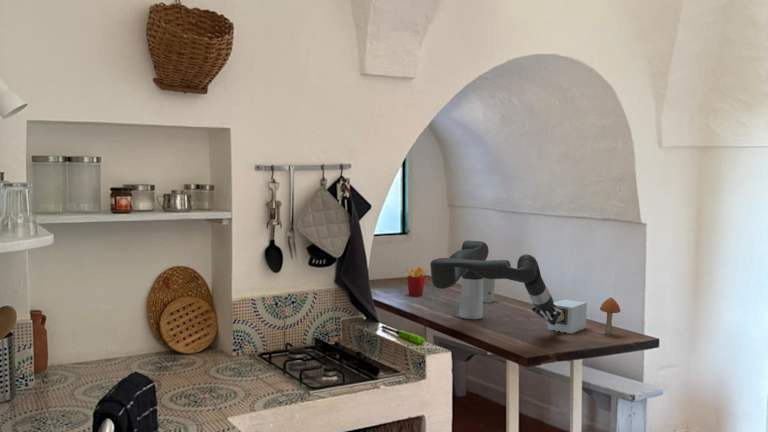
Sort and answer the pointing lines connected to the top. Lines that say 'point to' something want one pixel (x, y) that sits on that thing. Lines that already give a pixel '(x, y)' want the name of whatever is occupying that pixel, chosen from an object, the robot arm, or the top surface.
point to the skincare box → (488, 290)
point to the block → (570, 316)
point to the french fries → (416, 282)
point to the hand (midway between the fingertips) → (553, 323)
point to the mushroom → (609, 313)
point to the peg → (561, 316)
